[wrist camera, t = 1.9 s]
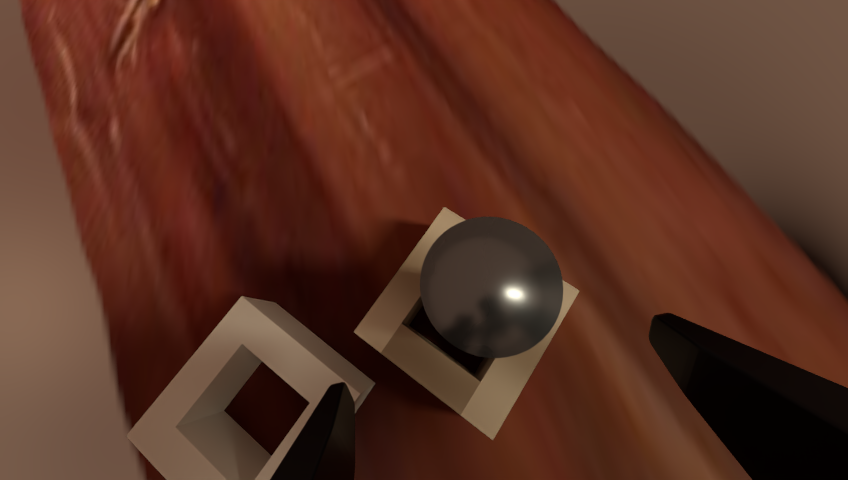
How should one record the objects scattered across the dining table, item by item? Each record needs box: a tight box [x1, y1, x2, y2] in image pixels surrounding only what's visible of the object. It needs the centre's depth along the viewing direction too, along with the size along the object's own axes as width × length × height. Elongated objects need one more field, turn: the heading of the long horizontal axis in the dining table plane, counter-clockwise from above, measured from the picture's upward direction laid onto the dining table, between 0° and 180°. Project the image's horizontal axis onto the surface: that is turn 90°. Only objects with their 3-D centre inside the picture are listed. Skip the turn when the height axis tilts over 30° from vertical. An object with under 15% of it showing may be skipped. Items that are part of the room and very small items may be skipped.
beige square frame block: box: [354, 207, 579, 440], centre depth 18 cm, size 8×8×4 cm
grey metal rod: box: [420, 217, 563, 358], centre depth 13 cm, size 3×3×12 cm
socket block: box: [126, 296, 375, 480], centre depth 17 cm, size 8×8×4 cm
